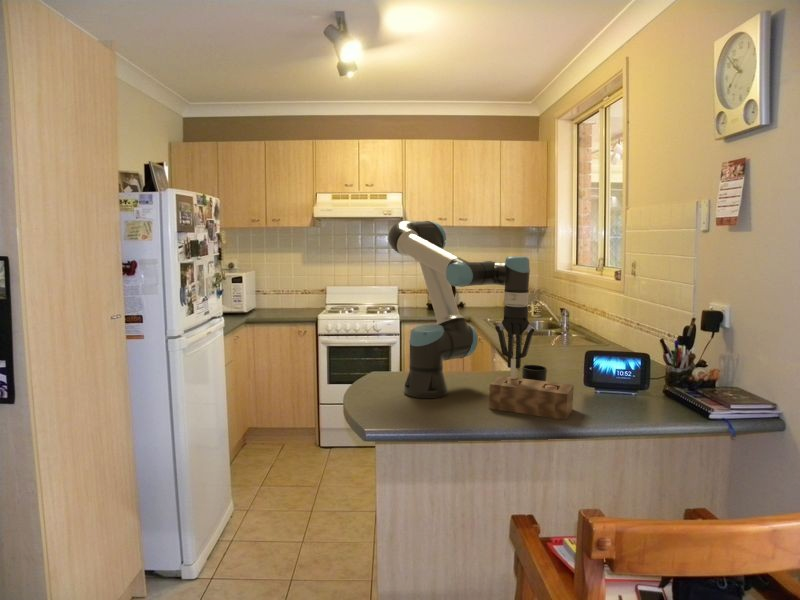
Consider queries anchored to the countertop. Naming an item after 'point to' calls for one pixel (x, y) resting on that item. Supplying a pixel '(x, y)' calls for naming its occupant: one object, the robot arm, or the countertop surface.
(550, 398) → the socket block
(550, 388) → the peg
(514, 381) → the peg
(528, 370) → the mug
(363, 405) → the countertop surface
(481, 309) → the countertop surface
